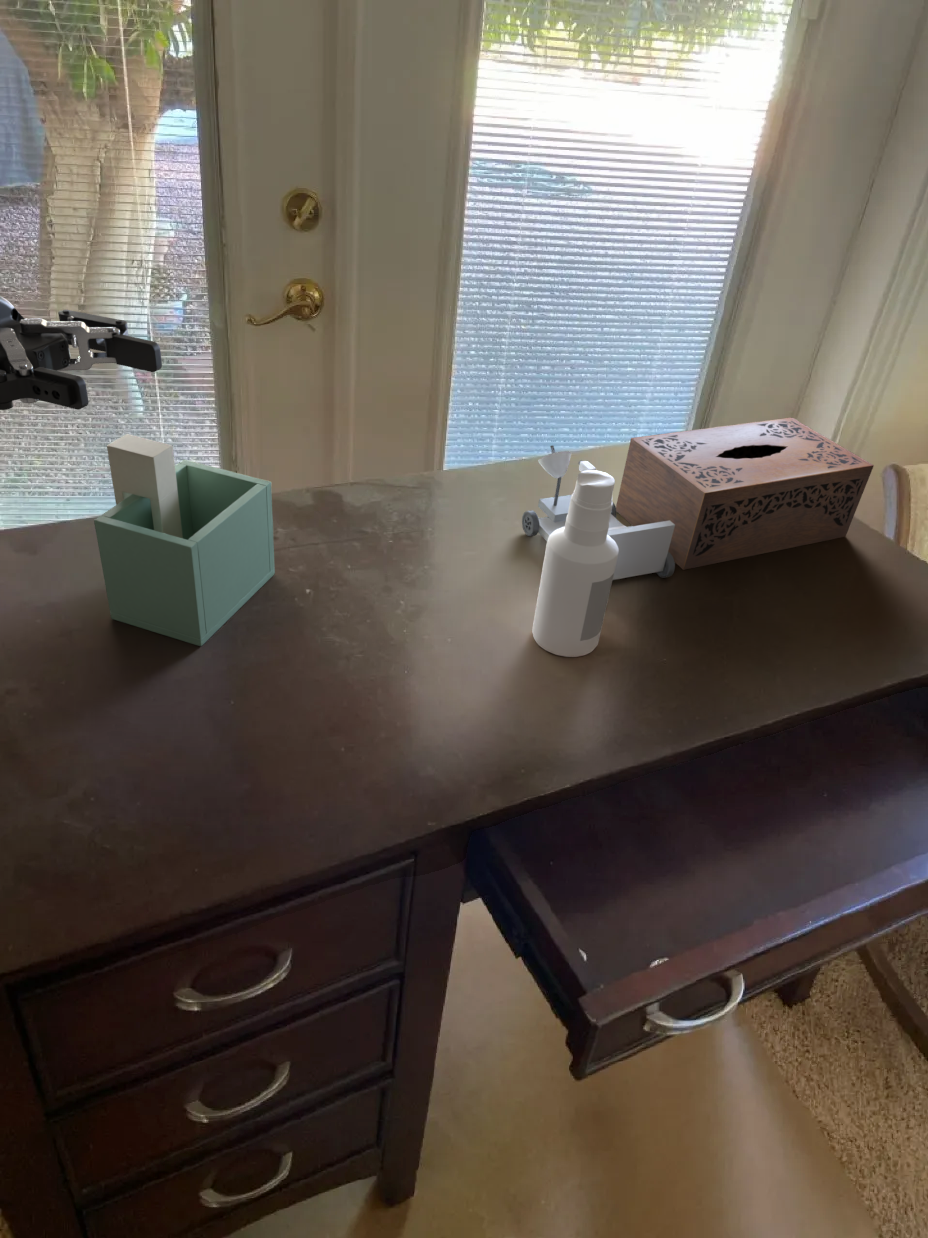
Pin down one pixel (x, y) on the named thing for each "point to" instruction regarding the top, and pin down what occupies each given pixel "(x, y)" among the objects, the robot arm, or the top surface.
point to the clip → (147, 478)
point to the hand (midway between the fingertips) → (123, 375)
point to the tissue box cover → (742, 489)
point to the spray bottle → (578, 571)
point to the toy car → (636, 544)
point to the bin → (189, 554)
